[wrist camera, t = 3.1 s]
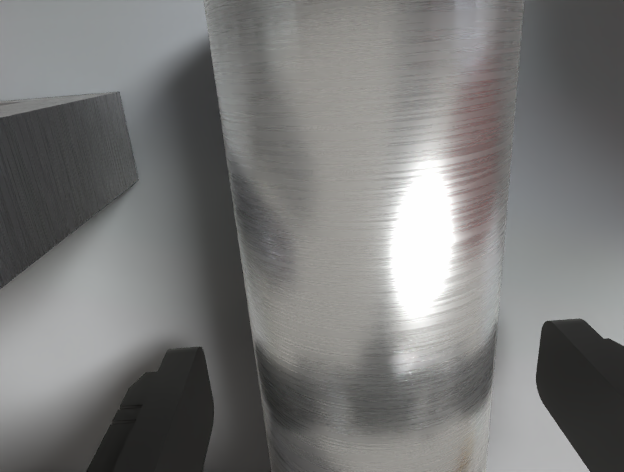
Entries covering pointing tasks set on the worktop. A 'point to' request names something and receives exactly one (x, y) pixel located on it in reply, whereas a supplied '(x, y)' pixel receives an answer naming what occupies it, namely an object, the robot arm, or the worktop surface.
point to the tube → (370, 220)
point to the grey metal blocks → (57, 171)
